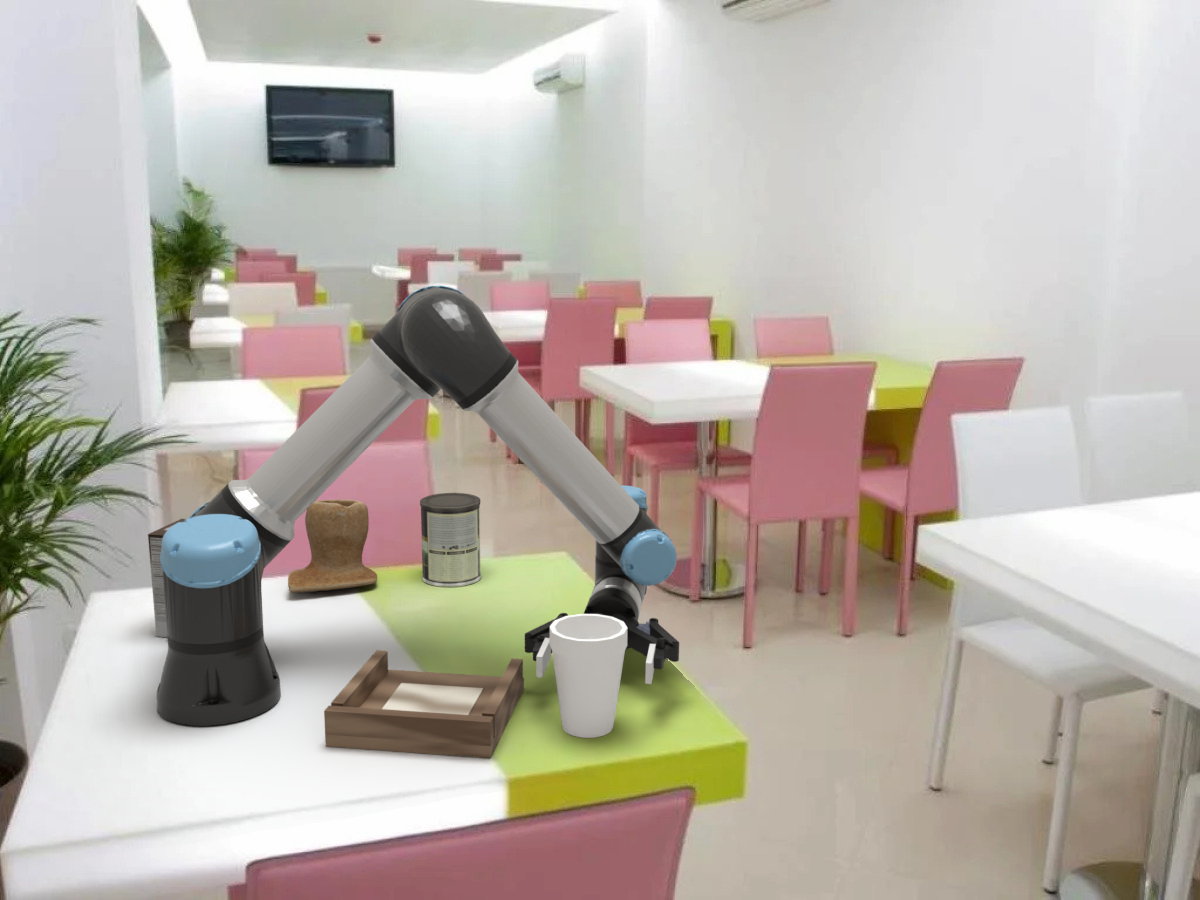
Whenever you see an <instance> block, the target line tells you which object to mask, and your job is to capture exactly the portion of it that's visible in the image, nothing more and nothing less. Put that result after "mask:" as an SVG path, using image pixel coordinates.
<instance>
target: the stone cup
mask: <svg viewBox="0 0 1200 900" xmlns="http://www.w3.org/2000/svg"><path fill="white" fill-rule="evenodd" d="M369 521H370V520H369V508H368V506H367V505H366V503H365V502H363V501H361V500H356V499H320V500H319V499H316V500H315V501H314V502H313V503H312V504H311V505H310V506H309V507H308V509H307V510H306V511H305V517H304V522H305V523H304V524H305V530H306V535H307V538H308V543H309V548H310V555H311V556H310V557H311V560H310V561H309V564H308V565H306V566H305V567H303V568H300V569H299V568H298V569H295V570H291V571H290V572H289V573H288V577H287V587H288V592H289V593H290V594H299V593H301V594H302V593H313V592H324V591H335V590H343V589H350V588H356V587H363V586H368V585H372V584H375V583H376V582H377V581H378V574H377V573H376V571H374V570H372V569H371V568H369V567H367V566H365V565H364V564H363V553H364V552H363V551H364V548H365V543H366V541H367V538H368V533H369V523H370V522H369Z"/></svg>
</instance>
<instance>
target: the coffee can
mask: <svg viewBox="0 0 1200 900" xmlns="http://www.w3.org/2000/svg"><path fill="white" fill-rule="evenodd" d="M480 505H481V498H480V497H479V496H476V495H475V494H471V493H463V492H444V493H443V492H442V493H436V494H435V493H434V494H431V495H427V496H425V497H423V498H421V499H420V500H419V506H420V525H421V526H420V527H421V528H420V529H421V557H422V558H421V560H422V561H421V562H422V564H421V565H422V568H421V569H422V577H421V579H422V582H424V583H425V584H427V585H429V586H433V587H439V588H440V587H441V588H459V587H465V586H470V585H472V584H475V583H478V582H479V580H481V579H482V574H481V573H482V572H481V517H480V516H481V515H480V513H481V508H480Z"/></svg>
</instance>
